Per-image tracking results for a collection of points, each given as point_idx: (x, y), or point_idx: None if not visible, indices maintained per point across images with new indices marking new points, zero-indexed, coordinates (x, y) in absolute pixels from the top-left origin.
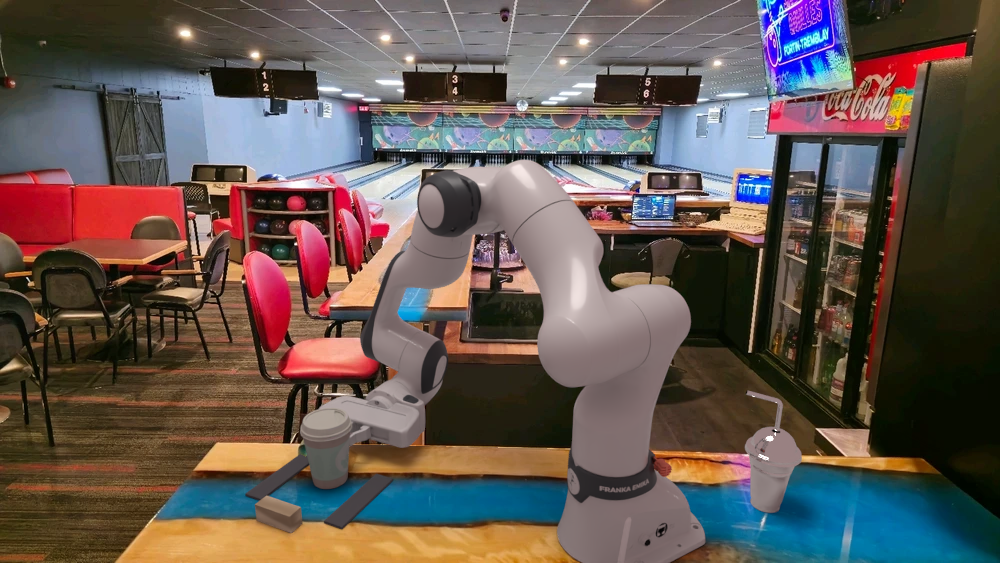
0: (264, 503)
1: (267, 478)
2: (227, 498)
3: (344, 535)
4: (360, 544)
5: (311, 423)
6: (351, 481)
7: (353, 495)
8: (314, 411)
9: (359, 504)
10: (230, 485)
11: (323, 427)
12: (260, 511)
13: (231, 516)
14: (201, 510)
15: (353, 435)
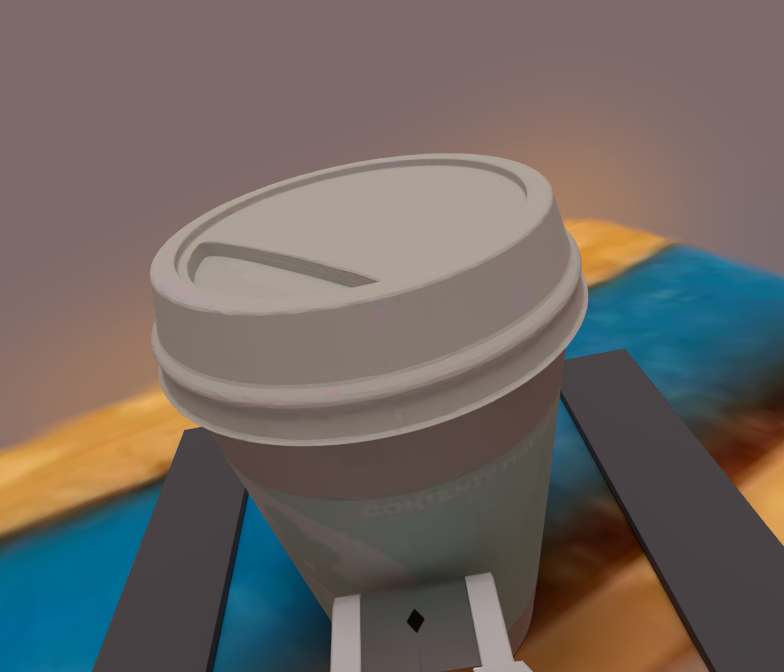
0: None
1: (676, 420)
2: (654, 328)
3: (168, 428)
4: (103, 433)
5: (400, 177)
6: (313, 649)
7: (225, 553)
8: (535, 195)
9: (169, 528)
10: (742, 351)
11: (285, 198)
12: None
13: None
14: (643, 285)
15: (333, 660)
